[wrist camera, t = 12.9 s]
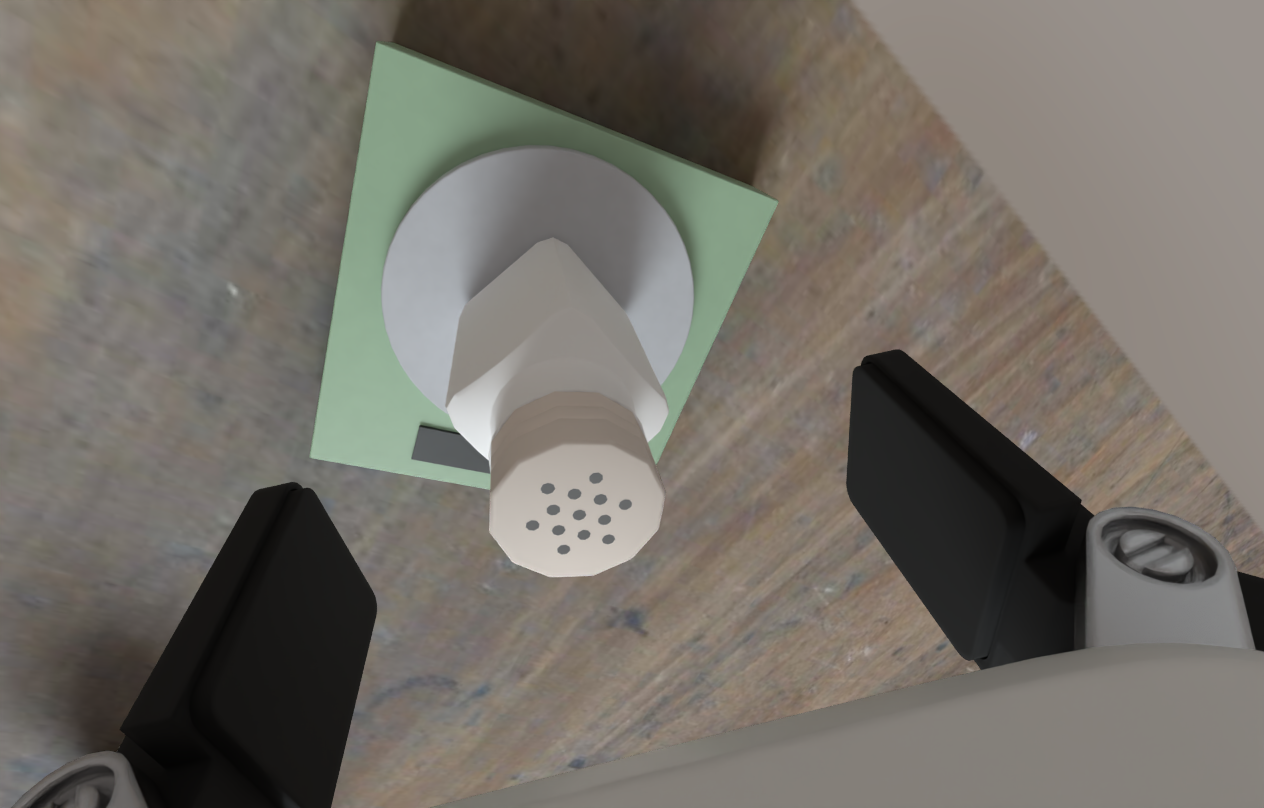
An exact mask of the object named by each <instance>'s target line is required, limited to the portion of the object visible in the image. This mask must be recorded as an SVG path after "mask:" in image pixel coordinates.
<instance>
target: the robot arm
mask: <svg viewBox="0 0 1264 808" xmlns="http://www.w3.org/2000/svg"><path fill="white" fill-rule="evenodd" d="M846 485H847V491H848V495H849V497H850V500H851V502H852V503H853V505H854V506H855V508H856V509H857V511H858V512H859V513H860V515H861V516H862V518H863V519H864V520H865V522H866V523H867V525H868V526H869V528H870V529H871V530H872V532H873V533H874V535H875V536H876V537H877V539H878V540H879V542H880V543H881V544H882V546H883V547H884V549H885V550H886V552H887V553H888V554H889V556H890V557H891V559H892V560H893V561H894V563H895V564H896V566H897V567H898V568H899V570H900V571H901V573H902V574H903V576H904V577H905V578H906V580H907V581H908V583H909V584H910V585H911V587H912V588H913V590H914V591H915V592H916V594H917V595H918V597H919V598H920V599H921V601H922V602H923V604H924V605H925V607H926V608H927V609H928V611H929V612H930V614H931V615H932V616H933V618H934V619H935V621H936V622H937V623H938V625H939V626H940V628H941V629H942V631H943V632H944V633H945V635H946V636H947V638H948V639H949V640H950V642H951V643H952V645H953V646H954V647H955V649H956V650H957V652H958V653H959V654H960V655H961V656H962V657H963V658H964V659H966V660H968V661H970V660H974V661H975V662H976V663H977V665H978V666H979V668H980V669H981V670H980V671H975V672H971V673H966V674H962V675H958V676H953V677H949V678H944V679H940V680H936V681H931V682H927V683H923V684H919V685H915V686H911V687H907V688H903V689H898V690H894V691H890V692H886V693H882V694H878V695H874V696H870V697H866V698H862V699H858V700H854V701H850V702H846V703H842V704H838V705H834V706H830V707H826V708H821V709H817V710H813V711H809V712H805V713H801V714H797V715H793V716H789V717H785V718H781V719H777V720H773V721H769V722H765V723H761V724H757V725H753V726H749V727H745V728H741V729H737V730H733V731H729V732H725V733H721V734H717V735H713V736H709V737H705V738H701V739H697V740H693V741H689V742H685V743H681V744H677V745H673V746H669V747H665V748H661V749H657V750H653V751H649V752H645V753H641V754H637V755H633V756H630V757H626V758H622V759H618V760H614V761H610V762H606V763H602V764H598V765H594V766H590V767H586V768H582V769H578V770H574V771H570V772H566V773H562V774H558V775H555V776H551V777H547V778H543V779H539V780H535V781H531V782H527V783H523V784H519V785H515V786H511V787H508V788H504V789H500V790H496V791H492V792H488V793H484V794H480V795H477V796H473V797H469V798H465V799H461V800H457V801H453V802H449V803H446V804H442V805H438V806H434V807H430V808H1264V579H1263V578H1260V577H1256V576H1252V575H1249V574H1245V573H1241V572H1238V571H1237V570H1236V566H1235V564H1234V562H1233V560H1232V558H1231V556H1230V554H1229V552H1228V550H1227V549H1226V548H1225V547H1224V546H1223V545H1222V544H1221V543H1220V542H1219V541H1218V540H1217V539H1216V538H1215V537H1213V536H1212V535H1210V534H1209V533H1207V532H1206V531H1204V530H1203V529H1201V528H1200V527H1198V526H1197V525H1195V524H1192V523H1190V522H1188V521H1186V520H1183V519H1181V518H1179V517H1177V516H1174V515H1171V514H1167V513H1164V512H1160V511H1157V510H1153V509H1145V508H1137V507H1120V508H1111V509H1108V510H1105V511H1102V512H1099V513H1098V514H1097V515H1095V516H1094V515H1093V514H1092V513H1091V512H1089V511H1088V510H1087V509H1086V508H1085V507H1084V506H1082V505H1081V501H1082V500H1081V499H1080V498H1079V497H1077V496H1076V495H1075V494H1074V493H1073V492H1071V491H1070V490H1069V489H1068V488H1067V487H1065V486H1064V485H1063V484H1062V483H1061V482H1059V481H1058V480H1057V479H1056V478H1055V477H1053V476H1052V475H1051V474H1050V473H1049V472H1047V471H1046V470H1045V469H1044V468H1043V467H1041V466H1040V465H1039V464H1038V463H1037V462H1035V461H1034V460H1033V459H1032V458H1031V457H1029V456H1028V455H1027V454H1026V453H1025V452H1023V451H1022V450H1021V449H1020V448H1019V447H1017V446H1016V445H1015V444H1014V443H1013V442H1011V441H1010V440H1009V439H1008V438H1007V437H1005V436H1004V435H1003V434H1002V433H1001V432H999V431H998V430H997V429H996V428H995V427H993V426H992V425H991V424H990V423H989V422H987V421H986V420H985V419H984V418H983V417H981V416H980V415H979V414H978V413H977V412H975V411H974V410H973V409H972V408H971V407H969V406H968V405H967V404H966V403H965V402H963V401H962V400H961V399H960V398H959V397H957V396H956V395H955V394H954V393H953V392H951V391H950V390H949V389H948V388H947V387H945V386H944V385H943V384H942V383H941V382H939V381H938V380H937V379H936V378H935V377H933V376H932V375H931V374H930V373H929V372H927V371H926V370H925V369H924V368H923V367H921V366H920V365H919V364H918V363H917V362H915V361H914V360H913V359H912V358H911V357H909V356H908V355H907V354H906V353H905V352H903V351H901V350H891V351H887V352H882V353H878V354H873V355H868V356H866V357H864V358H863V360H862V362H861V366H857V367H856V368H855V369H854V371H853V377H852V394H851V412H850V429H849V446H848V463H847V481H846ZM376 614H377V603H376V598H375V595H374V593H373V591H372V589H371V587H370V586H369V584H368V582H367V580H366V579H365V577H364V575H363V574H362V572H361V570H360V569H359V567H358V565H357V563H356V562H355V560H354V558H353V557H352V555H351V553H350V551H349V550H348V548H347V546H346V545H345V543H344V541H343V539H342V538H341V536H340V534H339V533H338V531H337V529H336V528H335V526H334V524H333V522H332V521H331V519H330V517H329V516H328V514H327V512H326V510H325V509H324V507H323V505H322V504H321V502H320V500H319V499H318V497H317V495H316V494H315V492H314V491H313V490H312V489H310V488H304V489H303V488H302V486H301V485H299V484H298V483H295V482H290V483H286V484H281V485H277V486H272V487H267V488H263V489H259V490H257V491H255V492H254V493H253V494H252V496H251V498H250V499H249V501H248V503H247V505H246V506H245V508H244V510H243V512H242V513H241V515H240V517H239V519H238V521H237V522H236V524H235V526H234V528H233V529H232V531H231V533H230V535H229V537H228V538H227V540H226V542H225V544H224V545H223V547H222V549H221V551H220V552H219V554H218V556H217V558H216V560H215V561H214V563H213V565H212V567H211V568H210V570H209V572H208V574H207V575H206V577H205V579H204V581H203V583H202V584H201V586H200V588H199V590H198V591H197V593H196V595H195V597H194V599H193V600H192V602H191V604H190V606H189V607H188V609H187V611H186V613H185V614H184V616H183V618H182V620H181V622H180V623H179V625H178V627H177V629H176V630H175V632H174V634H173V636H172V638H171V639H170V641H169V643H168V645H167V646H166V648H165V650H164V652H163V653H162V655H161V657H160V659H159V661H158V662H157V664H156V666H155V668H154V669H153V671H152V673H151V675H150V676H149V678H148V680H147V682H146V684H145V685H144V687H143V689H142V691H141V692H140V694H139V696H138V698H137V700H136V701H135V703H134V705H133V707H132V708H131V710H130V712H129V714H128V715H127V717H126V719H125V721H124V723H123V724H122V726H121V728H120V730H121V731H122V732H123V733H124V734H125V735H126V736H125V738H124V740H123V742H122V744H121V745H120V747H119V749H118V751H117V752H112V751H102V752H96V753H90V754H87V755H85V756H83V757H80V758H78V759H75V760H73V761H71V762H68V763H67V764H65V765H63V766H62V767H60V768H59V769H57V770H55V771H54V772H52V773H50V774H49V775H47V776H46V777H45V778H43V779H42V780H41V781H40V782H38V783H37V784H36V785H35V786H33V787H32V788H31V789H30V790H29V791H27V792H26V793H25V794H24V795H23V796H22V797H21V798H20V799H19V800H18V801H17V802H16V803H15V804H14V805H13V806H12V807H11V808H331V805H332V800H333V796H334V792H335V788H336V783H337V779H338V775H339V771H340V767H341V762H342V758H343V754H344V750H345V745H346V741H347V737H348V733H349V729H350V724H351V720H352V716H353V712H354V707H355V703H356V699H357V695H358V691H359V686H360V682H361V678H362V674H363V669H364V665H365V661H366V657H367V653H368V648H369V644H370V640H371V636H372V631H373V627H374V623H375V619H376Z"/></svg>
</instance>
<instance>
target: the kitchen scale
mask: <svg viewBox="0 0 1264 808" xmlns="http://www.w3.org/2000/svg"><path fill="white" fill-rule="evenodd" d="M777 204H778V200H777V199H775V198H773V197H771V196H769V195H767V194H766V193H764V192H762V191H760V190H758V189H757V188H755V187H753V186H751V185H748V184H746V183H743V182H741V181H738V180H736V179H733V178H731V177H728V176H726V175H723V174H721V173H718V172H716V171H713V170H711V169H708V168H706V167H703V166H701V165H698V164H696V163H693V162H691V161H688V160H686V159H683V158H681V157H678V156H676V155H673V154H671V153H668V152H666V151H663V150H661V149H658V148H656V147H653V146H651V145H648V144H646V143H643V142H641V141H638V140H636V139H633V138H631V137H628V136H626V135H623V134H621V133H618V132H616V131H613V130H611V129H608V128H606V127H603V126H601V125H598V124H596V123H593V122H591V121H588V120H586V119H583V118H581V117H578V116H576V115H573V114H571V113H568V112H566V111H563V110H561V109H558V108H556V107H553V106H551V105H548V104H546V103H543V102H541V101H538V100H536V99H533V98H531V97H528V96H526V95H523V94H521V93H518V92H516V91H513V90H511V89H508V88H506V87H503V86H501V85H498V84H496V83H493V82H491V81H488V80H486V79H483V78H481V77H478V76H476V75H473V74H471V73H468V72H466V71H463V70H461V69H458V68H456V67H453V66H451V65H448V64H446V63H443V62H441V61H438V60H436V59H433V58H431V57H428V56H426V55H423V54H421V53H418V52H416V51H413V50H411V49H408V48H406V47H403V46H401V45H398V44H396V43H393V42H382V41H377V42H376V45H375V52H374V58H373V64H372V70H371V76H370V83H369V89H368V95H367V101H366V108H365V114H364V120H363V126H362V133H361V139H360V145H359V151H358V158H357V164H356V170H355V176H354V182H353V189H352V195H351V201H350V207H349V214H348V220H347V226H346V232H345V239H344V245H343V251H342V257H341V263H340V270H339V276H338V282H337V288H336V295H335V301H334V307H333V313H332V320H331V326H330V332H329V338H328V345H327V351H326V357H325V363H324V369H323V376H322V382H321V388H320V394H319V401H318V407H317V413H316V419H315V426H314V432H313V438H312V444H311V450H310V458H314V459H320V460H326V461H331V462H337V463H343V464H348V465H354V466H360V467H365V468H371V469H377V470H382V471H388V472H394V473H399V474H405V475H411V476H416V477H422V478H428V479H433V480H439V481H445V482H450V483H456V484H462V485H467V486H473V487H479V488H484V489H490V478H491V473H490V466H489V460H487V459H486V458H485V457H484V456H483V455H482V454H480V453H479V452H478V451H477V450H476V449H475V448H474V447H473V446H472V445H471V444H470V443H469V442H468V441H467V440H466V439H465V438H464V437H463V436H462V435H461V434H460V433H459V432H458V431H457V430H456V429H455V428H454V426H453V424H452V421H451V419H450V416H449V414H448V411H447V409H446V407H445V403H446V397H447V391H448V385H449V378H450V372H451V366H452V360H453V353H454V347H455V341H456V334H457V328H458V322H459V317H460V315H461V313H462V311H463V308H464V306H465V304H466V303H468V302H469V301H470V300H471V299H472V298H473V297H475V296H476V295H477V294H478V293H479V292H480V291H482V290H483V289H484V288H485V287H486V286H487V285H488V284H490V283H491V282H492V281H493V280H494V279H495V278H497V277H498V276H499V275H500V274H501V273H502V272H504V271H505V270H506V269H507V268H508V267H509V266H511V265H512V264H513V263H514V262H515V261H516V260H518V259H519V258H520V257H521V256H522V255H523V254H525V253H526V252H527V251H528V250H529V249H530V248H532V247H533V246H534V245H535V244H536V243H537V242H540V241H543V240H546V239H549V238H553V237H554V238H556V239H558V240H559V241H561V242H563V243H565V244H567V245H568V246H569V247H570V248H571V249H572V250H573V251H574V253H575V254H576V255H577V256H578V257H579V258H580V260H581V261H582V262H583V263H584V264H585V265H586V267H587V268H588V269H589V270H590V271H591V272H592V274H593V275H594V276H595V277H596V278H597V279H598V281H599V282H600V283H601V284H602V285H603V286H604V288H605V289H606V290H607V291H608V292H609V293H610V295H611V296H612V297H613V298H614V299H615V300H616V302H617V303H618V304H619V305H620V306H621V308H622V309H623V310H624V311H625V312H626V313H627V315H628V317H629V320H630V322H631V324H632V326H633V328H634V330H635V332H636V334H637V337H638V339H639V341H640V343H641V345H642V347H643V349H644V351H645V354H646V356H647V358H648V360H649V362H650V364H651V366H652V368H653V371H654V373H655V375H656V377H657V379H658V381H659V383H660V385H661V388H662V390H663V392H664V394H665V396H666V399H667V404H668V408H669V413H668V416H667V418H666V420H665V422H664V424H663V426H662V428H661V430H660V432H659V433H658V434H656V435H655V436H654V437H653V438H652V439H651V440H650V441H649V442H648V445H649V448H650V450H651V453H652V456H653V459H654V461H655V464H656V465H657V463H658V460H659V458H660V456H661V454H662V452H663V450H664V447H665V445H666V443H667V441H668V439H669V437H670V435H671V432H672V430H673V428H674V426H675V424H676V422H677V420H678V417H679V415H680V413H681V411H682V409H683V407H684V404H685V402H686V400H687V398H688V396H689V394H690V392H691V389H692V387H693V385H694V383H695V381H696V379H697V376H698V374H699V372H700V370H701V368H702V366H703V364H704V361H705V359H706V357H707V355H708V353H709V351H710V348H711V346H712V344H713V342H714V340H715V338H716V336H717V333H718V331H719V329H720V327H721V325H722V323H723V320H724V318H725V316H726V314H727V312H728V310H729V308H730V305H731V303H732V301H733V299H734V297H735V295H736V292H737V290H738V288H739V286H740V284H741V282H742V280H743V277H744V275H745V273H746V271H747V269H748V267H749V264H750V262H751V260H752V258H753V256H754V254H755V252H756V249H757V247H758V245H759V243H760V241H761V239H762V236H763V234H764V232H765V230H766V228H767V226H768V224H769V221H770V219H771V217H772V215H773V213H774V211H775V208H776V206H777Z"/></svg>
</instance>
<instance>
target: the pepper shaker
mask: <svg viewBox="0 0 1264 808" xmlns="http://www.w3.org/2000/svg"><path fill="white" fill-rule="evenodd" d="M445 407H446V409H447V411H448V414H449V416H450V419H451V421H452V424H453V426H454V428H455V429H456V430H457V431H458V432H459V433H460V434H461V435H462V436H463V437H464V438H465V439H466V440H467V441H468V442H469V443H470V444H471V445H472V446H473V447H474V448H475V449H476V450H477V451H478V452H479V453H480V454H482V455H483V456H484V457H485V458H486V459H487V460H489V466H490V473H491V478H490V521H489V532H490V534H491V535H492V536H493V537H494V539H495V540H496V541H497V543H498V544H499V545H500V546H501V548H502V549H503V550H504V552H505V553H506V554H507V556H508V557H509V558H510V559H511V561H512V562H513V563H515V564H518V565H520V566H523V567H525V568H528V569H530V570H533V571H536V572H538V573H541V574H543V575H546V576H548V577H570V576H594V575H596V574H598V573H600V572H603V571H605V570H607V569H609V568H612V567H614V566H616V565H618V564H621V563H623V562H625V561H627V560H630V559H632V558H633V557H634V556H635V555H636V554H637V553H638V551H639V550H640V549H641V548H642V547H643V546H644V545H645V544H646V543H647V542H648V540H649V539H650V538H651V537H652V536H653V535H654V534H655V533H656V532H657V531H658V529H659V526H660V521H661V516H662V511H663V506H664V500H665V495H666V491H665V488H664V486H663V483H662V480H661V477H660V475H659V472H658V470H657V468H656V464H655V461H654V459H653V456H652V453H651V450H650V448H649V445H648V442H649V441H650V440H651V439H652V438H653V437H654V436H655V435H656V434H658V433H659V432H660V430H661V428H662V426H663V424H664V422H665V420H666V418H667V416H668V413H669V408H668V404H667V399H666V396H665V394H664V392H663V390H662V388H661V385H660V383H659V381H658V379H657V377H656V375H655V373H654V371H653V368H652V366H651V364H650V362H649V360H648V358H647V356H646V354H645V351H644V349H643V347H642V345H641V343H640V341H639V339H638V337H637V334H636V332H635V330H634V328H633V326H632V324H631V322H630V320H629V317H628V315H627V313H626V312H625V311H624V310H623V309H622V308H621V306H620V305H619V304H618V303H617V302H616V300H615V299H614V298H613V297H612V296H611V295H610V293H609V292H608V291H607V290H606V289H605V288H604V286H603V285H602V284H601V283H600V282H599V281H598V279H597V278H596V277H595V276H594V275H593V274H592V272H591V271H590V270H589V269H588V268H587V267H586V265H585V264H584V263H583V262H582V261H581V260H580V258H579V257H578V256H577V255H576V254H575V253H574V251H573V250H572V249H571V248H570V247H569V246H568V245H567V244H565V243H563V242H561V241H559V240H558V239H556V238H554V237H553V238H549V239H546V240H543V241H540V242H537V243H536V244H535V245H534V246H533V247H532V248H530V249H529V250H528V251H527V252H526V253H525V254H523V255H522V256H521V257H520V258H519V259H518V260H516V261H515V262H514V263H513V264H512V265H511V266H509V267H508V268H507V269H506V270H505V271H504V272H502V273H501V274H500V275H499V276H498V277H497V278H495V279H494V280H493V281H492V282H491V283H490V284H488V285H487V286H486V287H485V288H484V289H483V290H482V291H480V292H479V293H478V294H477V295H476V296H475V297H473V298H472V299H471V300H470V301H469V302H468V303H466V304H465V306H464V308H463V311H462V313H461V315H460V317H459V322H458V328H457V334H456V341H455V347H454V353H453V360H452V366H451V372H450V378H449V385H448V391H447V397H446V403H445Z"/></svg>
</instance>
